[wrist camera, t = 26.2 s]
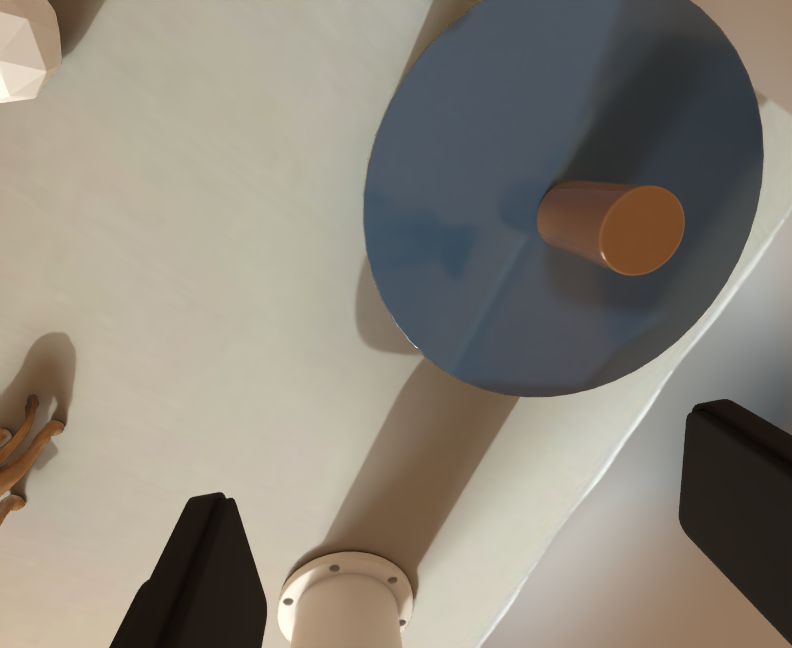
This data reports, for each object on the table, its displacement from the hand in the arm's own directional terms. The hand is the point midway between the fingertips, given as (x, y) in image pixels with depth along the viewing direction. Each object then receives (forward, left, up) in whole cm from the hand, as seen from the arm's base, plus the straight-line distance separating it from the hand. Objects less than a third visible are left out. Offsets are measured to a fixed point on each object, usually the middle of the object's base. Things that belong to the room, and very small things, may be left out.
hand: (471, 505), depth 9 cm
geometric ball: (+16, +19, -25) cm, 35 cm away
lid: (+4, -7, -12) cm, 14 cm away
